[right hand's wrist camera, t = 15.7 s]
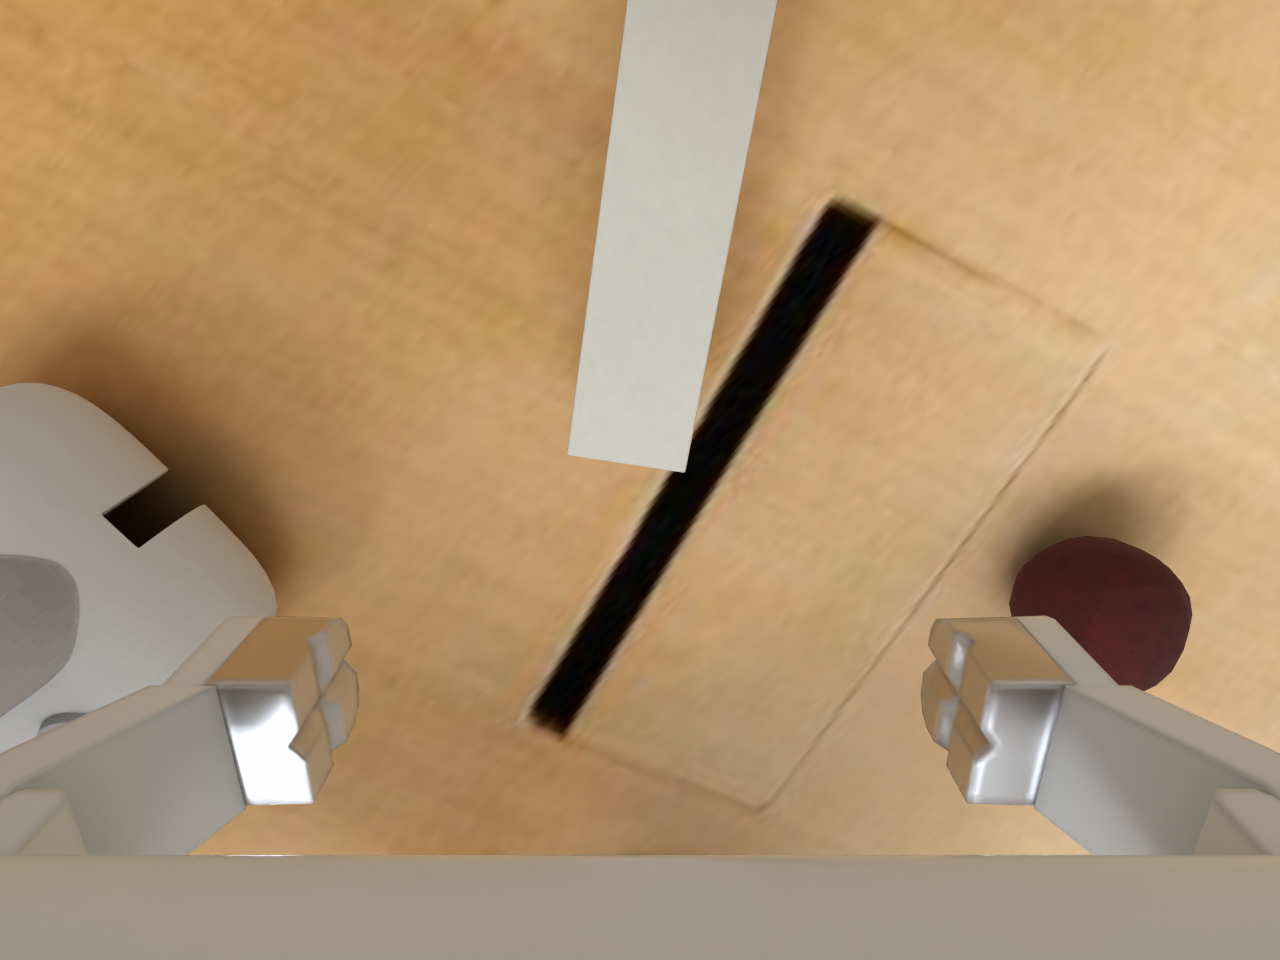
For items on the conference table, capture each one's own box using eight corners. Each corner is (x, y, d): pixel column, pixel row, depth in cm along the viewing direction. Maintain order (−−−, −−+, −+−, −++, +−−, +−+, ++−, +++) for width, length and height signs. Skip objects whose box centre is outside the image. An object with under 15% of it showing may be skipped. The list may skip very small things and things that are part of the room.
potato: (1143, 512, 38) (1248, 580, 32) (1112, 642, 41) (1202, 729, 34) (998, 516, 38) (1072, 584, 32) (977, 645, 41) (1042, 732, 34)
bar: (675, 412, 36) (685, 473, 29) (582, 398, 36) (566, 455, 28) (798, -249, 27) (860, -420, 20) (674, -276, 27) (688, -459, 19)
